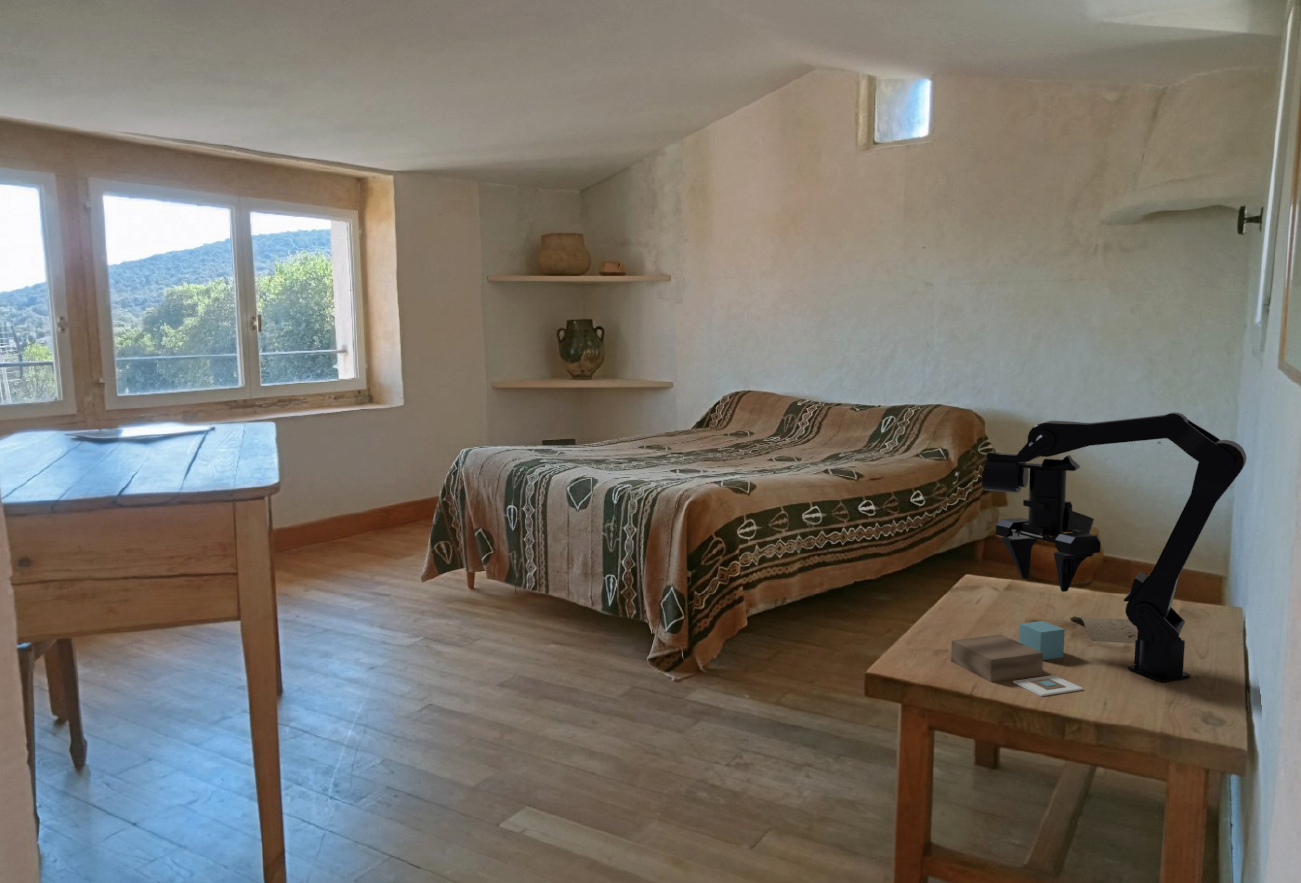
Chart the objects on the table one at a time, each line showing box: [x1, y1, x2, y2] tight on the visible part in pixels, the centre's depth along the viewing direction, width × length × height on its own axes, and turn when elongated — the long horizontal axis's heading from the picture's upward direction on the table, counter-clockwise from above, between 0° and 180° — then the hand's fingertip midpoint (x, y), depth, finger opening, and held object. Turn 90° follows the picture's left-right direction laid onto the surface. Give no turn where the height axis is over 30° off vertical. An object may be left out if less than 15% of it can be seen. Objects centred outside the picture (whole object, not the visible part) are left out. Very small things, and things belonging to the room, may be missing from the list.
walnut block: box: [950, 634, 1044, 683], centre depth 151 cm, size 10×10×4 cm
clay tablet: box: [1069, 616, 1138, 644], centre depth 170 cm, size 14×10×3 cm
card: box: [1013, 674, 1084, 697], centre depth 142 cm, size 6×8×1 cm
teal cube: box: [1018, 620, 1066, 661], centre depth 157 cm, size 5×5×5 cm
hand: (1044, 584), depth 157 cm, fingers open, 9 cm apart
